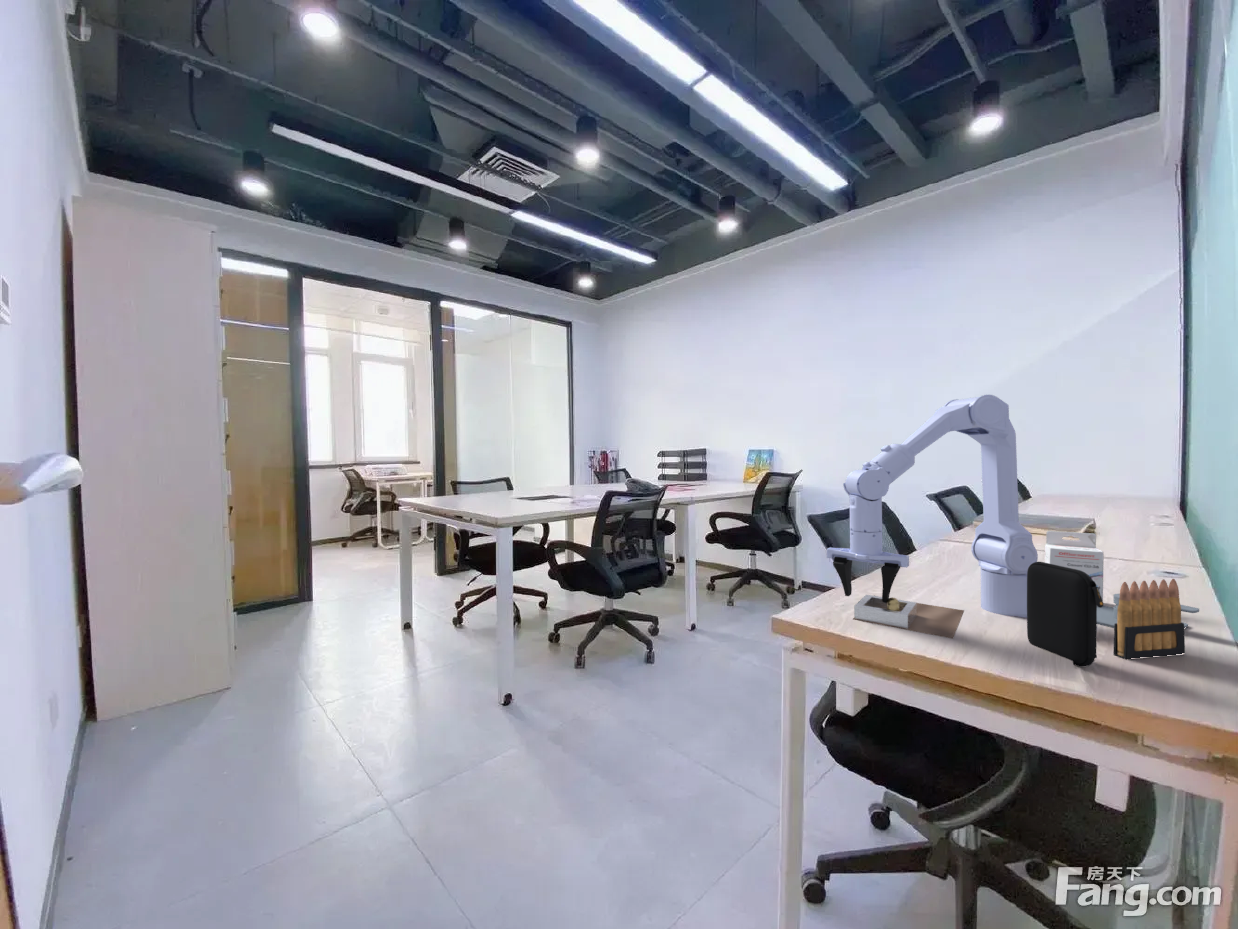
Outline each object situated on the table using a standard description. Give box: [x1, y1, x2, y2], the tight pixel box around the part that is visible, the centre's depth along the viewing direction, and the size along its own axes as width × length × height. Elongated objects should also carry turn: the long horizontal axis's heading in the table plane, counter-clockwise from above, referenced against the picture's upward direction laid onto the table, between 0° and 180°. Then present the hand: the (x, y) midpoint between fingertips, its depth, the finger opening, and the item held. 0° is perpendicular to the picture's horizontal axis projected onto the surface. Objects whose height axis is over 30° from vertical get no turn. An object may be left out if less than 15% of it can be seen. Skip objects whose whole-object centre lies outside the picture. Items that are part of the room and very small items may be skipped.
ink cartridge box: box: [1044, 530, 1105, 601], centre depth 102 cm, size 9×5×15 cm, turn 58°
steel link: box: [853, 594, 918, 629], centre depth 94 cm, size 9×9×2 cm
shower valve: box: [1097, 593, 1200, 629], centre depth 90 cm, size 12×6×15 cm
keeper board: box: [852, 602, 965, 639], centre depth 95 cm, size 16×18×1 cm
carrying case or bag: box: [1026, 561, 1104, 668], centre depth 76 cm, size 11×3×15 cm, turn 9°
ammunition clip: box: [1113, 578, 1186, 660], centre depth 77 cm, size 11×2×12 cm, turn 96°
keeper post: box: [887, 597, 899, 611], centre depth 93 cm, size 2×2×4 cm
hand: (866, 598), depth 96 cm, fingers open, 6 cm apart
